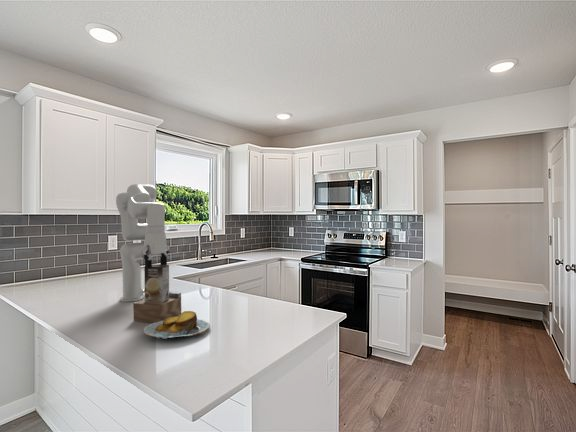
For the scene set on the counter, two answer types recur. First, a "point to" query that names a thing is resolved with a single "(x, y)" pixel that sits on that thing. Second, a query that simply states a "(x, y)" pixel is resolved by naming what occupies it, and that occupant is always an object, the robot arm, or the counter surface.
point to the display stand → (157, 309)
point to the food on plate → (177, 326)
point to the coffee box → (157, 283)
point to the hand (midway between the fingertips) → (156, 266)
